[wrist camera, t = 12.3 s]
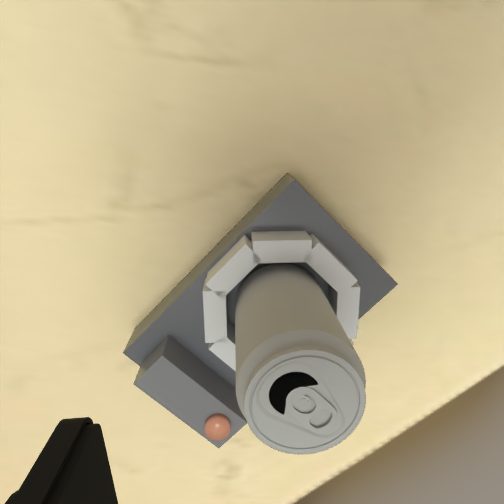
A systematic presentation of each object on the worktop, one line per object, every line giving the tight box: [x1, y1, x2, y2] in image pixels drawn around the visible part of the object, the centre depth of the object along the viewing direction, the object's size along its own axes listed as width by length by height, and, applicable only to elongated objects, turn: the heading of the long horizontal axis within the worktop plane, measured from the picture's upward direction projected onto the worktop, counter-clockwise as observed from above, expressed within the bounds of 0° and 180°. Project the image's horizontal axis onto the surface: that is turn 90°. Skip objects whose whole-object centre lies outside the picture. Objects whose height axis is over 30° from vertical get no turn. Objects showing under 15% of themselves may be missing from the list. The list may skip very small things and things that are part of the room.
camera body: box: [123, 173, 398, 448], centre depth 31 cm, size 18×11×8 cm, turn 136°
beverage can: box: [235, 263, 366, 454], centre depth 25 cm, size 6×6×12 cm
